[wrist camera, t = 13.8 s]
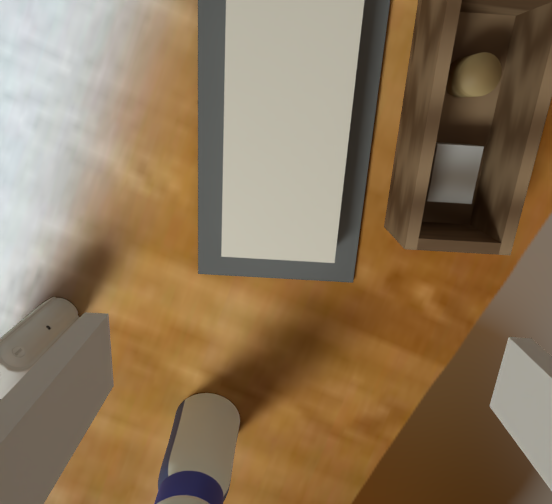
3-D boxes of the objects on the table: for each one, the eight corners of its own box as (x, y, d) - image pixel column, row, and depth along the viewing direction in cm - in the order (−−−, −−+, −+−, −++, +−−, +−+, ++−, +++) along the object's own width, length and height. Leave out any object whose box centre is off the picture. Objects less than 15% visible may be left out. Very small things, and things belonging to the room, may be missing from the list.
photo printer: (55, 287, 44) (-25, 353, 32) (88, 313, 45) (21, 386, 33) (0, 347, 46) (-94, 428, 34) (32, 370, 47) (-48, 457, 35)
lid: (230, 0, 34) (226, -11, 31) (356, 9, 35) (364, -1, 32) (225, 245, 41) (221, 256, 38) (330, 251, 42) (334, 263, 39)
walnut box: (418, -2, 35) (452, -28, 28) (523, 5, 35) (581, -19, 28) (384, 226, 41) (404, 249, 35) (472, 231, 42) (510, 255, 35)
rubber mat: (199, -46, 34) (197, -48, 33) (392, -32, 34) (394, -34, 34) (199, 271, 43) (198, 273, 42) (352, 280, 43) (352, 282, 43)
